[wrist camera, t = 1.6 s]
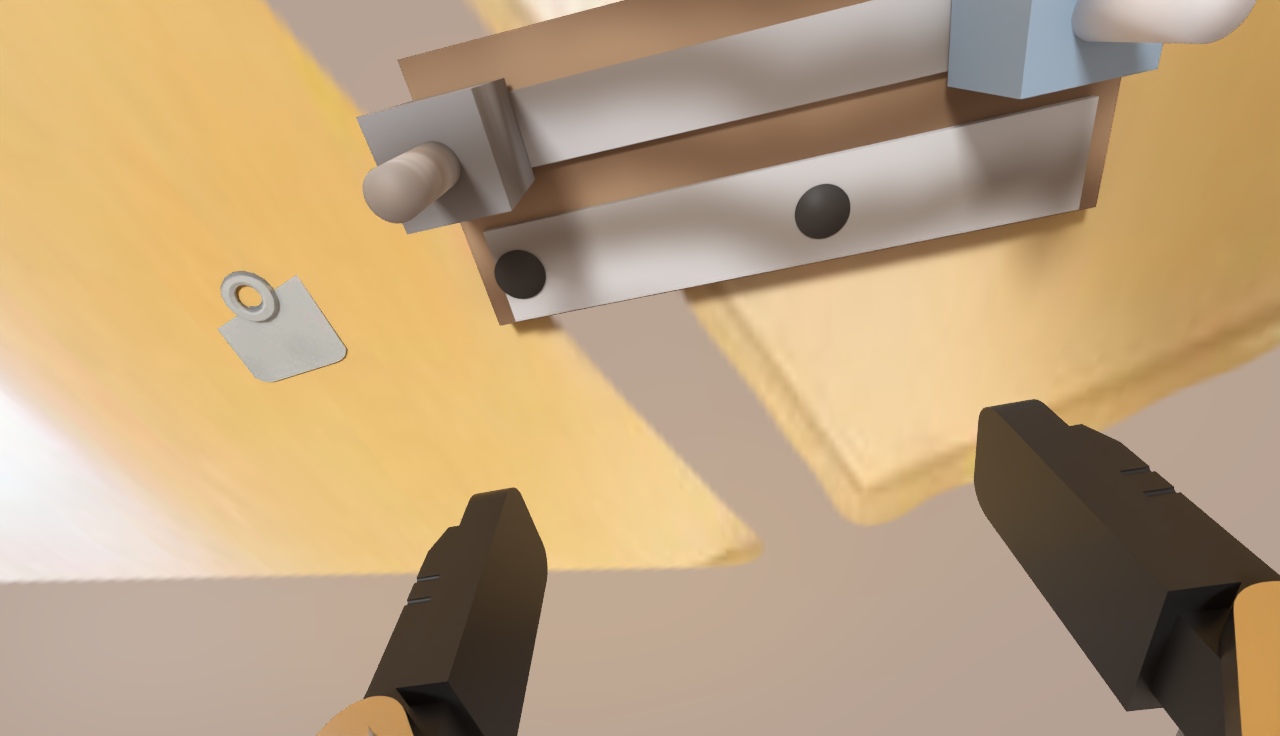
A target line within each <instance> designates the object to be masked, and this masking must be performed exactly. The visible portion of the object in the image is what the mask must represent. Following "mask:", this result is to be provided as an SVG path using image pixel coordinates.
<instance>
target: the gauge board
mask: <svg viewBox="0 0 1280 736" xmlns="http://www.w3.org/2000/svg"><path fill="white" fill-rule="evenodd" d="M951 11H952V0H624V1H620V2H616V3H612V4H608V5H605V6H601V7H597V8H593V9H589V10H586V11H582V12H578V13H574V14H570V15H567V16H563V17H559V18H555V19H551V20H548V21H544V22H540V23H536V24H532V25H528V26H525V27H521V28H517V29H513V30H509V31H506V32H502V33H498V34H494V35H490V36H487V37H483V38H479V39H475V40H471V41H468V42H464V43H460V44H456V45H452V46H449V47H445V48H441V49H437V50H433V51H429V52H426V53H422V54H418V55H414V56H411V57H407V58H403V59H399V60H398V63H399V65H400V68H401V71H402V73H403V76H404V78H405V81H406V83H407V86H408V88H409V91H410V94H411V96H412V99H413V101H411V102H407V103H404V104H400V105H397V106H394V107H390V108H387V109H384V110H381V111H377V112H374V113H370V114H366V115H363V116H360V117H356V118H357V121H358V123H359V125H360V128H361V130H362V132H363V134H364V137H365V139H366V141H367V143H368V146H369V148H370V150H371V153H372V155H373V157H374V159H375V162H376V164H377V167H375V168H374V169H372V170H371V171H369V172H368V174H367V175H366V177H365V179H364V182H363V195H364V198H365V201H366V203H367V205H368V206H369V208H370V209H371V210H372V211H373V212H374V213H375V214H376V215H377V216H378V217H380V218H382V219H383V220H385V221H388V222H391V223H403V225H404V228H405V230H406V232H407V234H411V233H415V232H420V231H424V230H429V229H433V228H438V227H442V226H447V225H451V224H455V223H461V226H462V229H463V231H464V234H465V236H466V239H467V242H468V244H469V247H470V249H471V252H472V255H473V257H474V260H475V262H476V265H477V267H478V270H479V273H480V275H481V278H482V280H483V283H484V286H485V288H486V291H487V293H488V296H489V299H490V301H491V304H492V306H493V309H494V312H495V314H496V317H497V319H498V322H499V324H500V325H505V324H510V323H515V322H520V321H525V320H530V319H535V318H541V317H546V316H551V315H556V314H561V313H566V312H570V311H576V310H580V309H586V308H591V307H595V306H600V305H606V304H610V303H616V302H621V301H626V300H631V299H635V298H641V297H646V296H651V295H656V294H661V293H666V292H671V291H676V290H681V289H686V288H691V287H696V286H701V285H706V284H711V283H716V282H721V281H726V280H731V279H736V278H741V277H746V276H751V275H756V274H761V273H766V272H771V271H776V270H781V269H786V268H791V267H796V266H801V265H806V264H812V263H817V262H822V261H827V260H832V259H837V258H842V257H847V256H852V255H857V254H862V253H867V252H872V251H877V250H882V249H887V248H892V247H897V246H902V245H907V244H912V243H917V242H922V241H927V240H932V239H937V238H942V237H947V236H952V235H957V234H962V233H967V232H972V231H977V230H982V229H987V228H992V227H997V226H1002V225H1007V224H1012V223H1017V222H1022V221H1027V220H1032V219H1037V218H1042V217H1047V216H1052V215H1057V214H1062V213H1067V212H1072V211H1077V210H1083V209H1088V208H1093V207H1096V204H1097V199H1098V193H1099V188H1100V183H1101V178H1102V173H1103V168H1104V163H1105V158H1106V152H1107V147H1108V142H1109V137H1110V132H1111V127H1112V122H1113V117H1114V111H1115V106H1116V101H1117V96H1118V91H1119V86H1120V81H1121V77H1118V78H1114V79H1109V80H1105V81H1101V82H1096V83H1092V84H1087V85H1083V86H1078V87H1074V88H1069V89H1065V90H1060V91H1056V92H1051V93H1047V94H1042V95H1038V96H1033V97H1029V98H1024V99H1016V98H1010V97H1005V96H999V95H993V94H988V93H982V92H977V91H971V90H965V89H960V88H954V87H948V86H947V84H948V66H949V48H950V30H951Z"/></svg>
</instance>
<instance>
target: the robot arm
mask: <svg viewBox="0 0 1280 736" xmlns="http://www.w3.org/2000/svg"><path fill="white" fill-rule="evenodd" d="M974 485H975V491H976V495H977V498H978V501H979V504H980V506H981V508H982V510H983V512H984V514H985V515H986V517H987V518H988V520H989V521H990V523H991V524H992V525H993V527H994V528H995V529H996V531H997V532H998V534H999V535H1000V536H1001V538H1002V539H1003V541H1004V542H1005V543H1006V545H1007V546H1008V548H1009V549H1010V550H1011V552H1012V553H1013V554H1014V556H1015V557H1016V559H1017V560H1018V561H1019V563H1020V564H1021V565H1022V567H1023V568H1024V570H1025V571H1026V572H1027V574H1028V575H1029V577H1030V578H1031V579H1032V581H1033V582H1034V584H1035V585H1036V586H1037V588H1038V589H1039V590H1040V592H1041V593H1042V595H1043V596H1044V597H1045V599H1046V600H1047V602H1048V603H1049V604H1050V606H1051V607H1052V608H1053V610H1054V611H1055V613H1056V614H1057V616H1058V617H1059V618H1060V620H1061V621H1062V622H1063V624H1064V625H1065V627H1066V628H1067V629H1068V631H1069V632H1070V633H1071V635H1072V636H1073V638H1074V639H1075V640H1076V642H1077V643H1078V645H1079V646H1080V647H1081V649H1082V650H1083V651H1084V653H1085V654H1086V656H1087V657H1088V659H1089V660H1090V661H1091V663H1092V664H1093V665H1094V667H1095V668H1096V670H1097V671H1098V672H1099V674H1100V675H1101V677H1102V678H1103V679H1104V681H1105V682H1106V684H1107V685H1108V686H1109V688H1110V689H1111V690H1112V692H1113V693H1114V695H1115V696H1116V697H1117V699H1118V700H1119V702H1120V703H1121V704H1122V706H1123V707H1124V709H1125V710H1126V711H1134V710H1143V709H1154V708H1164V709H1165V711H1166V712H1167V713H1168V715H1169V716H1170V717H1171V718H1172V720H1173V721H1174V722H1175V723H1176V725H1177V726H1178V727H1179V730H1178V732H1177V734H1176V736H1280V575H1279V574H1277V573H1276V572H1275V571H1274V570H1273V569H1271V568H1270V567H1269V566H1268V565H1267V564H1265V563H1264V562H1263V561H1262V560H1261V559H1259V558H1258V557H1257V556H1256V555H1255V554H1253V553H1252V552H1251V551H1250V550H1249V549H1248V548H1246V547H1245V546H1244V545H1243V544H1242V543H1240V542H1239V541H1238V540H1237V539H1236V538H1234V537H1233V536H1232V535H1231V534H1230V533H1228V532H1227V531H1226V530H1224V529H1223V528H1222V527H1221V526H1220V525H1219V524H1218V523H1216V522H1215V521H1214V520H1213V519H1212V518H1210V517H1209V516H1208V515H1207V514H1206V513H1204V512H1203V511H1202V510H1201V509H1200V508H1198V507H1197V506H1196V505H1195V504H1194V503H1193V502H1191V501H1190V500H1189V499H1188V498H1187V497H1185V496H1184V495H1183V494H1182V493H1181V492H1180V493H1176V492H1175V490H1174V487H1173V486H1172V485H1171V484H1170V483H1168V482H1167V481H1166V480H1165V479H1164V478H1162V477H1161V476H1160V475H1159V474H1158V473H1157V472H1155V471H1154V472H1151V471H1150V469H1149V466H1148V465H1147V464H1146V463H1145V462H1143V461H1142V460H1141V459H1140V458H1139V457H1137V456H1136V455H1135V454H1134V453H1133V452H1131V451H1130V450H1129V449H1128V448H1127V447H1125V446H1124V445H1123V444H1122V443H1120V442H1119V441H1117V440H1115V439H1112V438H1110V437H1108V436H1106V435H1104V434H1102V433H1100V432H1097V431H1095V430H1093V429H1091V428H1089V427H1087V426H1085V425H1082V424H1080V425H1074V426H1068V425H1067V424H1066V423H1065V422H1064V421H1063V420H1062V419H1061V418H1060V417H1058V416H1057V415H1056V414H1055V413H1054V412H1053V411H1052V410H1051V409H1050V408H1048V407H1047V406H1046V405H1045V404H1044V403H1042V402H1041V401H1039V400H1035V399H1033V400H1026V401H1020V402H1015V403H1009V404H1003V405H997V406H991V407H986V408H984V409H983V410H982V411H981V412H980V415H979V421H978V434H977V446H976V459H975V471H974ZM546 582H547V558H546V552H545V549H544V545H543V543H542V541H541V538H540V536H539V534H538V532H537V529H536V527H535V525H534V522H533V520H532V518H531V516H530V513H529V511H528V509H527V507H526V504H525V502H524V500H523V498H522V495H521V494H520V492H519V491H518V490H517V489H516V488H508V489H502V490H496V491H490V492H484V493H479V494H474V495H473V496H472V497H471V498H470V500H469V503H468V505H467V508H466V510H465V513H464V515H463V518H462V520H461V523H460V525H459V526H454V527H449V528H448V529H447V530H446V531H445V532H444V534H443V535H442V536H441V537H440V538H439V540H438V541H437V542H436V543H435V544H434V545H433V547H432V548H431V549H430V550H429V551H428V553H427V556H426V558H425V560H424V562H423V565H422V567H421V569H420V572H419V574H418V576H417V583H415V584H414V585H413V588H412V590H411V592H410V594H409V597H408V599H407V601H408V604H407V605H406V606H404V608H403V610H402V613H401V615H400V617H399V620H398V622H397V624H396V627H395V629H394V631H393V633H392V636H391V638H390V640H389V643H388V645H387V647H386V649H385V652H384V654H383V656H382V658H381V661H380V663H379V665H378V668H377V670H376V672H375V674H374V677H373V679H372V681H371V684H370V686H369V688H368V690H367V693H366V694H365V697H364V699H363V700H360V701H358V702H356V703H354V704H352V705H350V706H349V707H347V708H345V709H344V710H342V711H341V712H340V713H338V714H337V715H336V716H335V717H333V718H332V719H331V720H330V721H329V722H328V723H327V724H326V725H325V726H324V727H323V728H322V729H321V731H320V732H319V733H318V734H317V735H316V736H517V733H518V728H519V723H520V718H521V713H522V707H523V702H524V697H525V692H526V686H527V681H528V676H529V671H530V665H531V660H532V655H533V650H534V645H535V639H536V634H537V629H538V624H539V618H540V613H541V608H542V603H543V598H544V592H545V587H546Z"/></svg>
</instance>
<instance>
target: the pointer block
mask: <svg viewBox="0 0 1280 736" xmlns="http://www.w3.org/2000/svg"><path fill="white" fill-rule="evenodd" d="M1255 2H1256V0H952V11H951V30H950V48H949V66H948V84H947V86H948V87H954V88H960V89H965V90H971V91H977V92H982V93H988V94H993V95H999V96H1005V97H1010V98H1016V99H1024V98H1029V97H1033V96H1038V95H1042V94H1047V93H1051V92H1056V91H1060V90H1065V89H1069V88H1074V87H1078V86H1083V85H1087V84H1092V83H1096V82H1101V81H1105V80H1109V79H1114V78H1118V77H1123V76H1127V75H1132V74H1136V73H1141V72H1145V71H1150V70H1154V69H1158V64H1159V60H1160V55H1161V51H1162V46H1163V43H1185V44H1207V43H1212V42H1215V41H1218V40H1220V39H1222V38H1224V37H1226V36H1227V35H1229V34H1230V33H1231V32H1233V31H1234V30H1235V29H1236V28H1237V27H1238V26H1240V24H1241V23H1242V22H1243V21H1244V20H1245V19H1246V18H1247V16H1248V15H1249V13H1250V12H1251V10H1252V8H1253V7H1254V5H1255Z"/></svg>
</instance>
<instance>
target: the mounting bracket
mask: <svg viewBox="0 0 1280 736" xmlns="http://www.w3.org/2000/svg"><path fill="white" fill-rule="evenodd" d="M240 285H247V286H251V287H252V288H254V289H256V290H257V291H258V293H259V294H260V295H261V297H262V302H261V304H260V305H259V306H256V307H254V306H250V307H249V308H248V307H247V306H245V305H243V304H242V303H241V302H240V301H239V299H238V297H237V296H236V289H237V287H238V286H240ZM221 295H222V298H223V300H224V302H225V303H226V305H227V306H228V307H229V308H230V309H231V310H232V311H233V312H234V313H235V314H236V315H237V316H236V317H234V318H233V319H232V320H230V321H229V322H227V323H226V324H224V325H223V326H221V327H220V328H219V329H218V331H219V332H220V333H221V334H222V336H223V337H224V338H225V340H226V341H227V342H228V343H229V345H230V346H231V347H232V349H233V350H234V351H235V352H236V354H237V355H238V356H239V358H240V359H241V360H242V361H243V363H244V364H245V365H246V367H247V368H248V369H249V370H250V372H251V373H252V374H253V376H254V377H255V378H257V379H259V380H261V381H265V382H274V381H278V380H281V379H284V378H287V377H291V376H294V375H297V374H300V373H303V372H307V371H310V370H313V369H316V368H320V367H323V366H326V365H329V364H332V363H336V362H338V361H340V360H341V359H342V358H343V357H344V356H345V355H346V350H347V348H346V346H345V345H344V344H343V342H342V341H341V339H340V338H339V336H338V335H337V333H336V332H335V330H334V329H333V327H332V326H331V324H330V323H329V322H328V320H327V319H326V317H325V316H324V314H323V313H322V311H321V310H320V308H319V307H318V305H317V304H316V303H315V301H314V300H313V298H312V297H311V295H310V294H309V292H308V291H307V289H306V288H305V286H304V285H303V283H302V282H301V281H300V279H299V278H298V276H297V275H295V276H294V277H293V278H291V279H290V280H288V281H287V282H285V283H284V284H282V285H281V286H280V287H278V288H277V289H275V290H274V289H273V288H272V287H271V285H270V284H269V283H268V282H267V281H266V280H264V279H263V278H261V277H259V276H258V275H256V274H254V273H250V272H245V271H237V272H232V273H230V274H229V275H228V276H226V277H225V278H224V281H223V283H222V285H221Z"/></svg>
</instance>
